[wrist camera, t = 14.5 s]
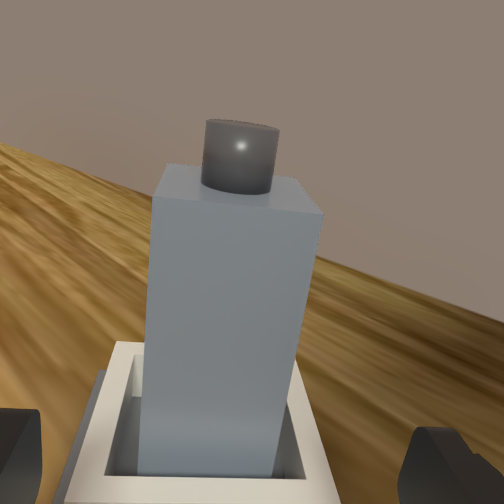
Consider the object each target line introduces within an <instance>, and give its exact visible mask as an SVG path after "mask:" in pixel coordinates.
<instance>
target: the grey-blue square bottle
mask: <svg viewBox="0 0 504 504" xmlns="http://www.w3.org/2000/svg"><path fill="white" fill-rule="evenodd" d="M279 132H280V130H279V129H276V128H273V127H269V126H265V125H260V124H254V123H248V122H241V121H233V120H221V119H209V120H206V131H205V141H204V152H203V162H202V167H198V166H190V165H181V164H173V163H168V165H167V167H166V169H165V171H164V173H163V175H162V177H161V179H160V182H159V184H158V186H157V188H156V190H155V193H154V194H153V201H152V219H151V237H150V255H149V272H148V290H147V308H146V326H145V344H144V362H143V379H142V397H141V415H140V433H139V451H138V469H137V476H140V477H194V478H248V479H271V476H272V471H273V466H274V461H275V456H276V451H277V446H278V441H279V436H280V431H281V426H282V421H283V416H284V411H285V406H286V401H287V396H288V391H289V386H290V381H291V376H292V371H293V366H294V361H295V356H296V351H297V346H298V341H299V336H300V331H301V326H302V321H303V316H304V311H305V306H306V301H307V296H308V291H309V286H310V281H311V276H312V271H313V266H314V261H315V256H316V251H317V246H318V241H319V236H320V231H321V226H322V221H323V216H324V214H323V213H322V212H321V210H320V209H319V208H318V206H317V205H316V204H315V203H314V201H313V200H312V199H311V198H310V196H309V195H308V194H307V193H306V191H305V190H304V189H303V188H302V186H301V185H300V184H299V183H298V181H297V180H296V179H295V178H292V177H284V176H275V175H273V172H274V165H275V159H276V152H277V145H278V139H279Z"/></svg>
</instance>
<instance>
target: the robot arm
mask: <svg viewBox="0 0 504 504" xmlns="http://www.w3.org/2000/svg"><path fill="white" fill-rule="evenodd" d="M41 477H42V445H41V421H40V413H39V411H38V410H37V409H14V408H0V504H35V501H36V498H37V495H38V491H39V487H40V483H41ZM398 497H399V502H400V504H504V476H503V475H502V474H501V473H500V472H499V471H498V470H497V469H496V468H494V467H493V466H492V465H491V464H490V463H489V462H487V461H486V460H485V459H484V458H483V457H482V456H480V455H479V454H473V453H472V451H471V450H470V449H469V447H468V446H467V444H466V443H465V441H464V440H463V439H462V437H461V436H460V434H459V433H458V432H457V431H456V430H455V429H453V428H443V427H417V428H416V429H415V431H414V433H413V435H412V438H411V441H410V444H409V447H408V450H407V453H406V456H405V459H404V462H403V465H402V468H401V471H400V474H399V477H398Z"/></svg>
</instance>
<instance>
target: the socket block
mask: <svg viewBox="0 0 504 504" xmlns="http://www.w3.org/2000/svg"><path fill="white" fill-rule="evenodd" d="M144 344H145V343H138V342H121V341H116V344H115V347H114V350H113V353H112V357H111V360H110V363H109V366H108V369H107V370H99V372H98V375H97V378H96V381H95V384H94V387H93V389H92V392H91V395H90V398H89V401H88V403H87V406H86V409H85V412H84V415H83V418H82V420H81V423H80V426H79V429H78V432H77V435H76V437H75V440H74V443H73V446H72V449H71V451H70V454H69V457H68V460H67V463H66V466H65V468H64V471H63V474H62V477H61V480H60V483H59V485H58V488H57V491H56V494H55V497H54V499H53V502H52V504H341V502H340V499H339V496H338V492H337V489H336V486H335V483H334V480H333V477H332V473H331V470H330V467H329V464H328V461H327V458H326V454H325V451H324V448H323V445H322V442H321V438H320V435H319V432H318V429H317V426H316V423H315V419H314V416H313V413H312V410H311V407H310V404H309V400H308V397H307V394H306V391H305V388H304V385H303V381H302V378H301V375H300V372H299V369H298V366H297V362H296V359H295V361H294V366H293V371H292V376H291V381H290V386H289V391H288V396H287V401H286V406H285V411H284V416H283V421H282V426H281V431H280V436H279V441H278V446H277V451H276V456H275V461H274V466H273V471H272V476H271V479H248V478H194V477H140V476H137V469H138V451H139V433H140V415H141V397H142V379H143V362H144Z"/></svg>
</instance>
